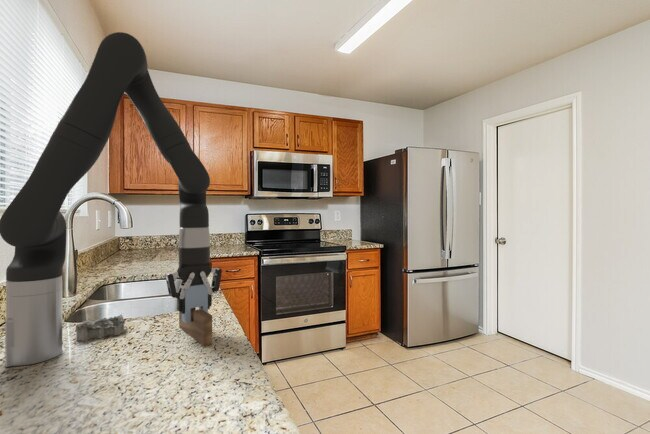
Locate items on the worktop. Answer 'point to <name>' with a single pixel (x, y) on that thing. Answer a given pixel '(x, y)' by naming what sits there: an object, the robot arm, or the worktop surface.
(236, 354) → the worktop surface
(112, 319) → the egg carton
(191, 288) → the notched block
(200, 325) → the slotted plate
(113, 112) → the robot arm
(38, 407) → the worktop surface
